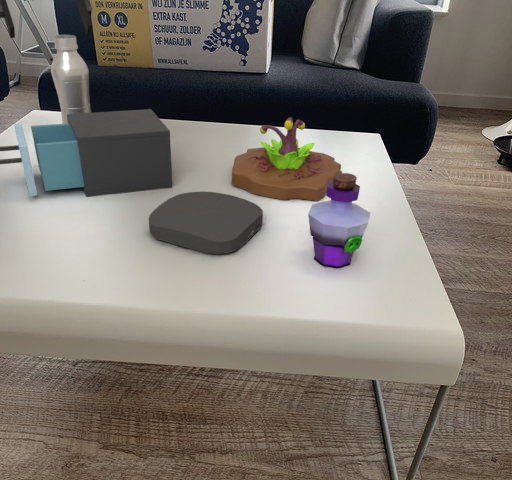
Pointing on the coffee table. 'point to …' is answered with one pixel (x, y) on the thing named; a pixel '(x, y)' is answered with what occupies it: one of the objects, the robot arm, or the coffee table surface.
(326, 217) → the potion bottle
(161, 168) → the cabinet
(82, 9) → the robot arm
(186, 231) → the media streaming box
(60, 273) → the coffee table surface
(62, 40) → the plastic bottle
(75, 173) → the drawer
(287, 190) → the plant
